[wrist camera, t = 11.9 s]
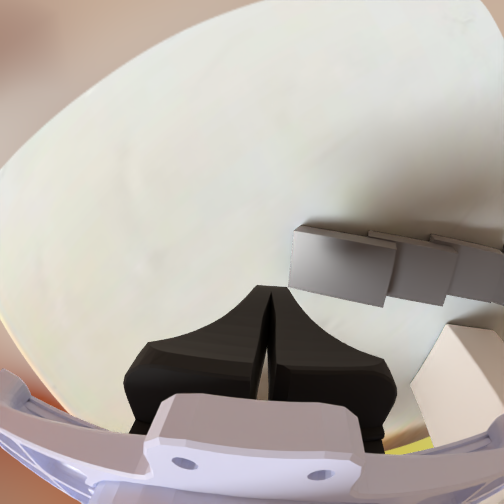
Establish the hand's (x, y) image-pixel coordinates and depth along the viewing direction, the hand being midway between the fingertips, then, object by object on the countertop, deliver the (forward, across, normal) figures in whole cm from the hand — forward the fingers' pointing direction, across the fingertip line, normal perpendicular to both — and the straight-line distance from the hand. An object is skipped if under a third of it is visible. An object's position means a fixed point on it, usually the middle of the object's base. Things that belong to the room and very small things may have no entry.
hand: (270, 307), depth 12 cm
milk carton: (+7, -18, +9) cm, 21 cm away
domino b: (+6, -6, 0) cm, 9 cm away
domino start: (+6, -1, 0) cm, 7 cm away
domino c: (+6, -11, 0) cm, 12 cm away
